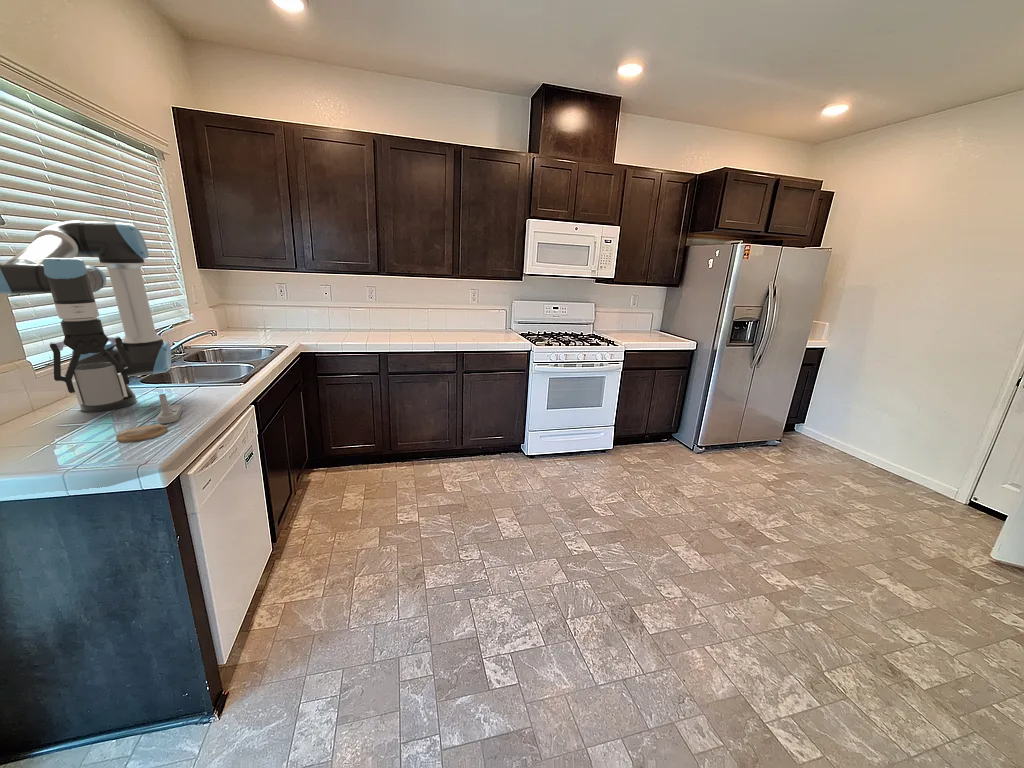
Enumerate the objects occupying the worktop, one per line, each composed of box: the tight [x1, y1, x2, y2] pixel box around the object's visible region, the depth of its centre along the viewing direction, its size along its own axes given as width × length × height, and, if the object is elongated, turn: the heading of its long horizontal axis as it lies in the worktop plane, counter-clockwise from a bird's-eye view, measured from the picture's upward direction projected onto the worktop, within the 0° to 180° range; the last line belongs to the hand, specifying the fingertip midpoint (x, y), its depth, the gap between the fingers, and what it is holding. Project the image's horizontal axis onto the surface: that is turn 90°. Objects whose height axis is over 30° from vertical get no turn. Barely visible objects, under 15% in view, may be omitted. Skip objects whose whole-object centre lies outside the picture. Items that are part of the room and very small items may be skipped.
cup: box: [73, 362, 124, 406], centre depth 114 cm, size 8×8×10 cm
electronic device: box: [156, 393, 183, 425], centre depth 142 cm, size 5×10×15 cm
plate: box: [116, 423, 168, 443], centre depth 129 cm, size 12×12×1 cm
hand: (103, 399), depth 115 cm, fingers closed on cup, 8 cm apart
